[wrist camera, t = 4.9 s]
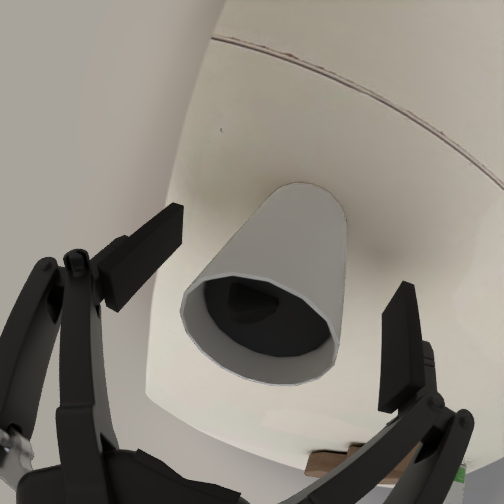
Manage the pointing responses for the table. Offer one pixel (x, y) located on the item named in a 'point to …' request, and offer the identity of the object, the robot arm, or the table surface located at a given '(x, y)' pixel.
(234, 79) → the table surface
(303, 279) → the white cup
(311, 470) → the wooden block set
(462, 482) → the cosmetic box
